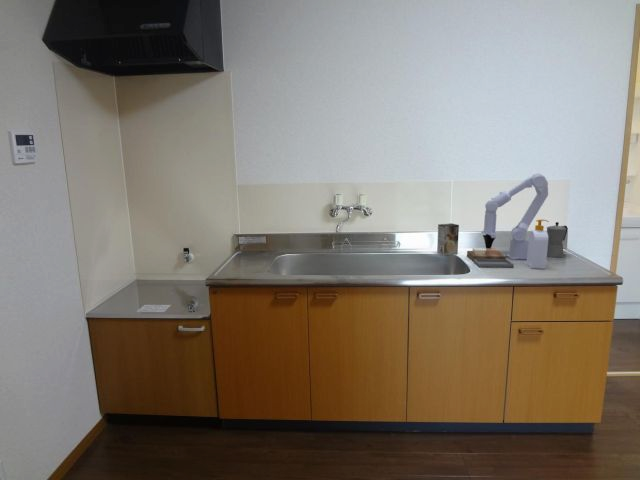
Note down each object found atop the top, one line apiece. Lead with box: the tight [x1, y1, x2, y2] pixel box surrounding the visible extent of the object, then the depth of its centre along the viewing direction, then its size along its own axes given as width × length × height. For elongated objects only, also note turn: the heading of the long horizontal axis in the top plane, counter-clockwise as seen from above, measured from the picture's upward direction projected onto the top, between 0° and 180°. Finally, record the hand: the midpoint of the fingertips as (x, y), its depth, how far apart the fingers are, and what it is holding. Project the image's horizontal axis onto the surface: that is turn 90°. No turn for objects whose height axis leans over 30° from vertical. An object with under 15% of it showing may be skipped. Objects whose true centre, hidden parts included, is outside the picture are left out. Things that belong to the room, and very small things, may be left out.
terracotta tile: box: [485, 247, 500, 254], centre depth 238 cm, size 5×5×2 cm
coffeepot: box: [546, 221, 569, 259], centre depth 243 cm, size 15×9×18 cm, turn 118°
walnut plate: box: [466, 250, 507, 263], centre depth 237 cm, size 16×12×3 cm
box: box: [473, 258, 514, 269], centre depth 226 cm, size 16×10×2 cm, turn 87°
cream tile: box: [471, 247, 486, 254], centre depth 238 cm, size 5×5×2 cm
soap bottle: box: [526, 219, 550, 270], centre depth 221 cm, size 9×7×23 cm
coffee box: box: [436, 223, 460, 256], centre depth 249 cm, size 9×6×16 cm
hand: (488, 248), depth 245 cm, fingers closed
